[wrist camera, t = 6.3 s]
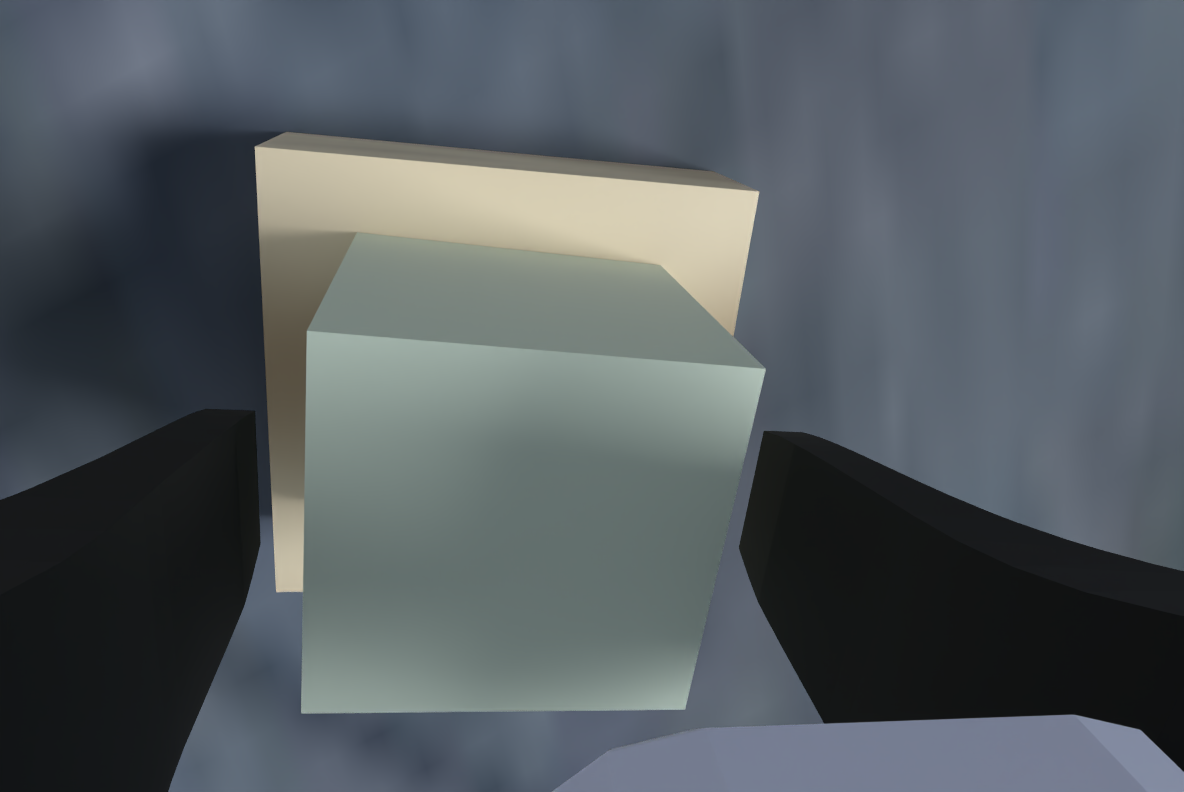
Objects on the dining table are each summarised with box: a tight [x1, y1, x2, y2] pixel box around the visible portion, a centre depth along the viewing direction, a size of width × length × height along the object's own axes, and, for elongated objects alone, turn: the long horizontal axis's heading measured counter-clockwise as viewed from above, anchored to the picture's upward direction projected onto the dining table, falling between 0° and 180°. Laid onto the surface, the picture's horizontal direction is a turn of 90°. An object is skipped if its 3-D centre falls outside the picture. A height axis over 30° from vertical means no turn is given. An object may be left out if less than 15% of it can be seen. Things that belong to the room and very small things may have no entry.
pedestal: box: [255, 132, 759, 592], centre depth 16 cm, size 8×8×3 cm
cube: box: [301, 232, 766, 713], centre depth 12 cm, size 5×5×5 cm
